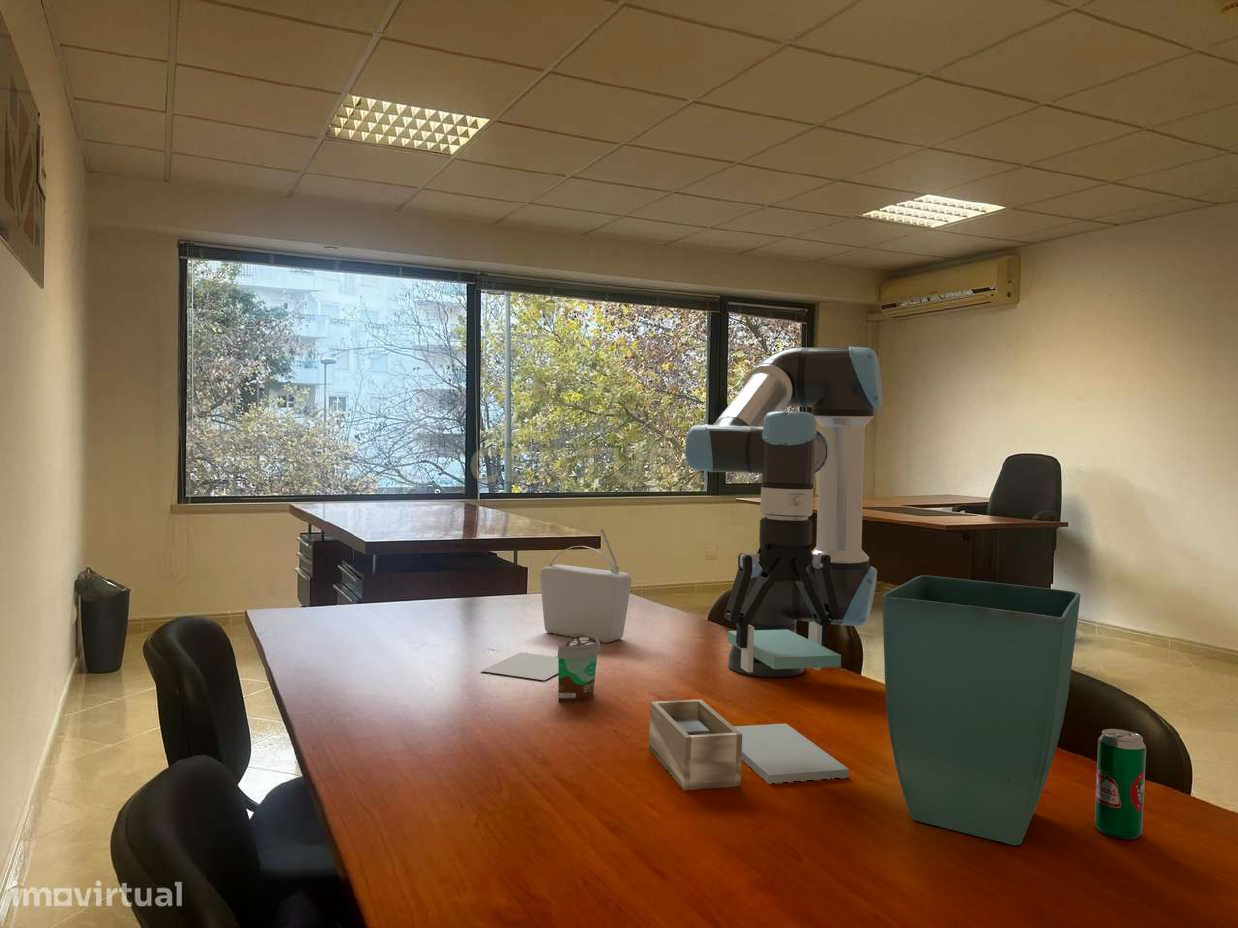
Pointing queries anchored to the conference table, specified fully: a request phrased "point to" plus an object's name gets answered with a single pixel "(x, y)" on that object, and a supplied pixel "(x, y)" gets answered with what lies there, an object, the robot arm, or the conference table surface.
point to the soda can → (1120, 784)
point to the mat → (786, 755)
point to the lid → (789, 650)
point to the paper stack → (526, 666)
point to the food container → (577, 668)
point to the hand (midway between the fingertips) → (780, 668)
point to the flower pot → (976, 698)
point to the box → (695, 744)
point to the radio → (585, 599)
